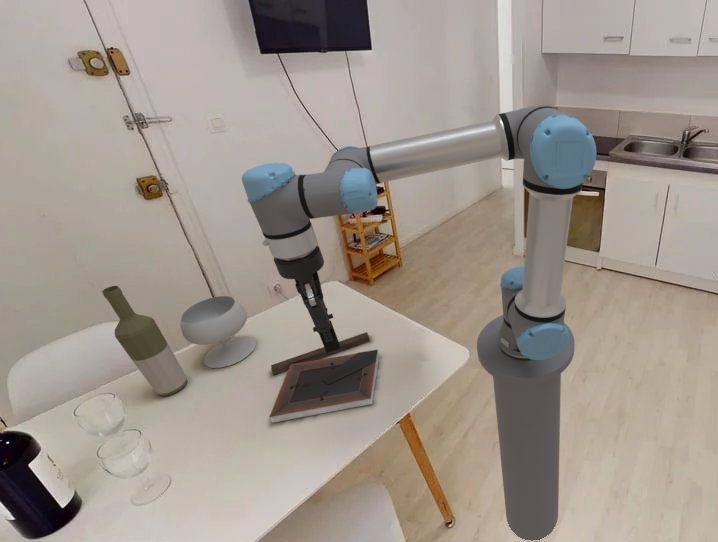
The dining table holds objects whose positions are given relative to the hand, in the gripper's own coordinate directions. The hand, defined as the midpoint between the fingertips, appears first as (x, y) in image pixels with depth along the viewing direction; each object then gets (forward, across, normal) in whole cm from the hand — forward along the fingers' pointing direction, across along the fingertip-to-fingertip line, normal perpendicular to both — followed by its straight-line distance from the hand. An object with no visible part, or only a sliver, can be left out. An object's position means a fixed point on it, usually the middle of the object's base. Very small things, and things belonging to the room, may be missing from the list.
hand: (333, 348), depth 85 cm
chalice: (+19, -39, -26) cm, 50 cm away
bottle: (+19, -32, -38) cm, 53 cm away
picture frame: (+19, -11, -4) cm, 23 cm away
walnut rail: (+19, -24, -4) cm, 31 cm away
